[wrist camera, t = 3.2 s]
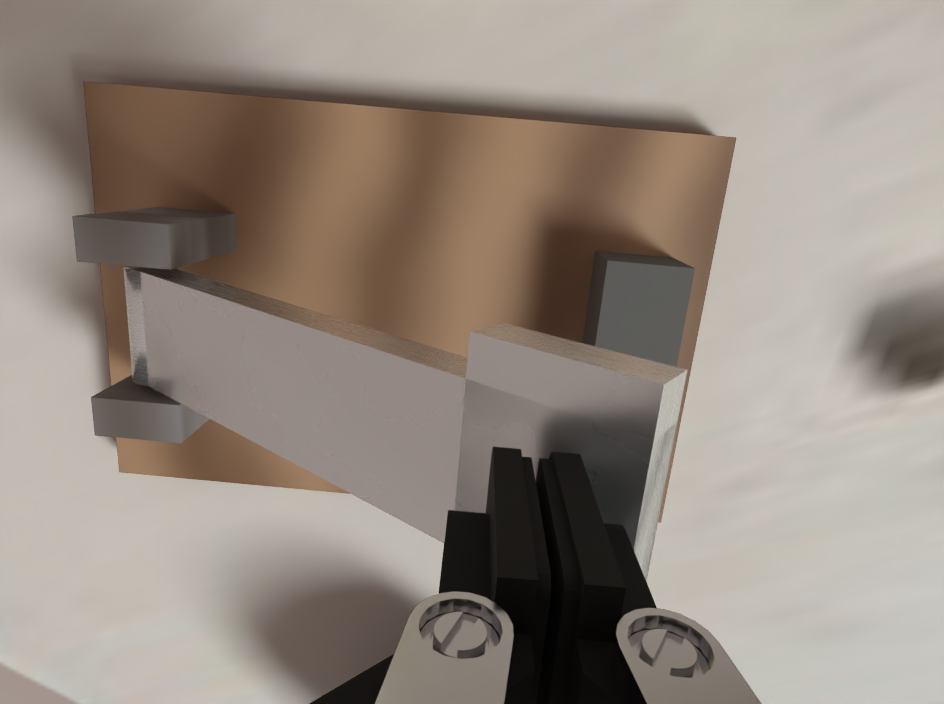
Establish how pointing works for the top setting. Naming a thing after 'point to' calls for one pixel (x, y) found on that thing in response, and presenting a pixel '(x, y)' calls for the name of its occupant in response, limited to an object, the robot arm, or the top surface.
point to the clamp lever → (407, 400)
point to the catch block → (638, 305)
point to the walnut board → (371, 232)
